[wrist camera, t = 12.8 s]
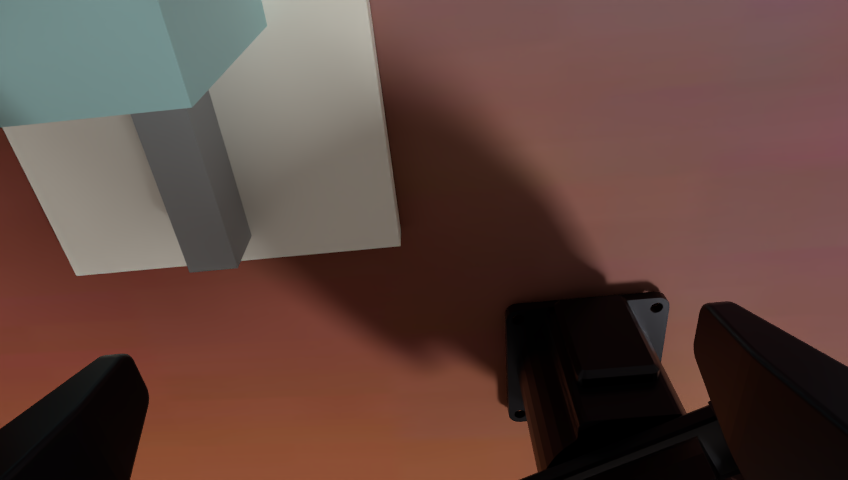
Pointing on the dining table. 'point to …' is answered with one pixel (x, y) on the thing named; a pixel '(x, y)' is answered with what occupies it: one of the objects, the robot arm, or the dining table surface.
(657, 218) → the dining table surface
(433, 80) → the dining table surface
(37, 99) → the teal block
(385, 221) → the cleat board
